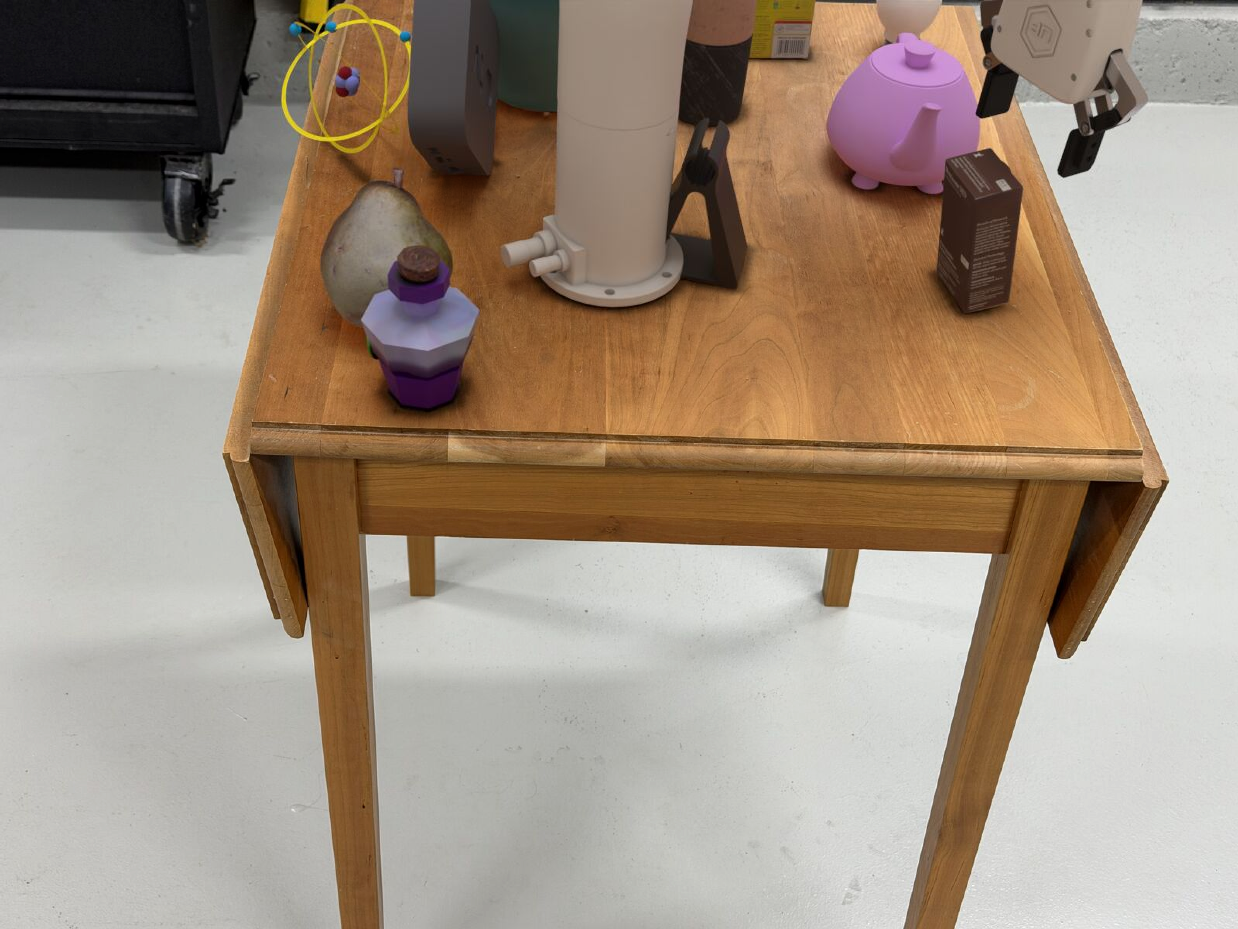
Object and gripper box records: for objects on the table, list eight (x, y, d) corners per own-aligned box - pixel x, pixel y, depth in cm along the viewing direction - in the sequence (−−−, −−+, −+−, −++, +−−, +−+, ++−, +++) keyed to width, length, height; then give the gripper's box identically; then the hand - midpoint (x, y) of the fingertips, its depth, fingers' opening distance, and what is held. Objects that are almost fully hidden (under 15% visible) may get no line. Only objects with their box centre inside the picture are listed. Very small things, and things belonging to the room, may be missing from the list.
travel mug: (745, 130, 137) (770, -72, 124) (667, 125, 137) (684, -77, 123) (741, 91, 143) (765, -106, 129) (666, 87, 143) (682, -111, 129)
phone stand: (747, 250, 122) (768, 128, 114) (736, 289, 118) (758, 165, 110) (646, 231, 123) (660, 108, 115) (632, 269, 119) (646, 144, 111)
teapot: (984, 236, 126) (1019, 111, 117) (827, 225, 126) (850, 99, 117) (956, 123, 140) (985, 5, 132) (815, 113, 140) (835, -6, 132)
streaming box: (446, 28, 131) (501, 29, 131) (437, 180, 130) (492, 182, 130) (411, -36, 117) (472, -35, 116) (401, 135, 116) (462, 136, 115)
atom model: (272, -40, 126) (251, 103, 134) (292, 22, 115) (267, 175, 122) (420, -11, 132) (391, 125, 139) (452, 51, 121) (419, 195, 128)
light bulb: (931, 73, 148) (954, -28, 140) (867, 68, 148) (886, -33, 141) (926, 43, 153) (947, -56, 145) (864, 38, 153) (882, -61, 145)
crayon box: (803, 46, 151) (820, -60, 143) (808, 59, 149) (825, -48, 141) (735, 45, 150) (748, -62, 142) (739, 58, 148) (752, -49, 140)
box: (931, 275, 121) (943, 156, 113) (980, 264, 122) (995, 144, 113) (960, 317, 117) (975, 197, 108) (1011, 305, 118) (1029, 185, 109)
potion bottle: (362, 359, 109) (351, 226, 101) (472, 349, 111) (470, 218, 103) (372, 430, 103) (361, 295, 95) (489, 419, 104) (488, 285, 96)
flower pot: (654, 60, 146) (667, -104, 135) (611, 145, 134) (621, -27, 122) (489, 32, 149) (487, -131, 137) (431, 113, 136) (424, -59, 125)
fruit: (458, 283, 116) (454, 156, 108) (448, 354, 110) (443, 225, 101) (334, 277, 116) (320, 150, 108) (316, 349, 109) (300, 218, 101)
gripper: (979, -105, 105) (927, 101, 117) (1147, -8, 95) (1071, 207, 106) (1052, -118, 108) (995, 85, 120) (1223, -26, 98) (1141, 186, 109)
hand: (1031, 142), depth 113 cm, fingers open, 9 cm apart
